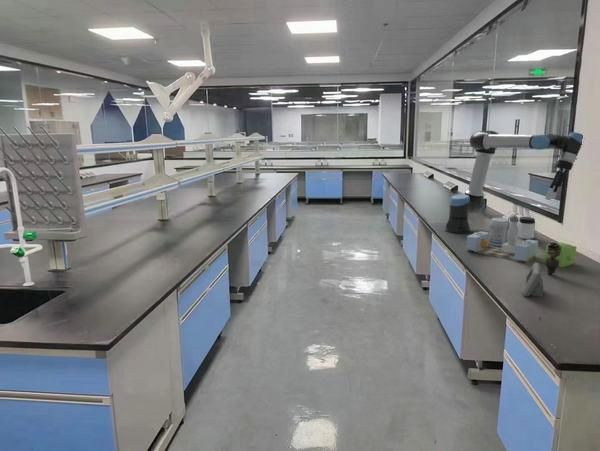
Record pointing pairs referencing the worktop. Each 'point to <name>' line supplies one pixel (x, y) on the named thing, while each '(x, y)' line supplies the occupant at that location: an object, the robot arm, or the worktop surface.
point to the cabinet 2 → (526, 249)
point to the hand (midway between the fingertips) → (549, 198)
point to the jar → (526, 228)
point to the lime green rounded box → (564, 254)
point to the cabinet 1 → (476, 240)
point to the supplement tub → (498, 231)
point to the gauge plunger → (484, 242)
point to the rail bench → (499, 253)
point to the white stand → (511, 236)
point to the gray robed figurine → (533, 282)
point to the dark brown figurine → (553, 257)
